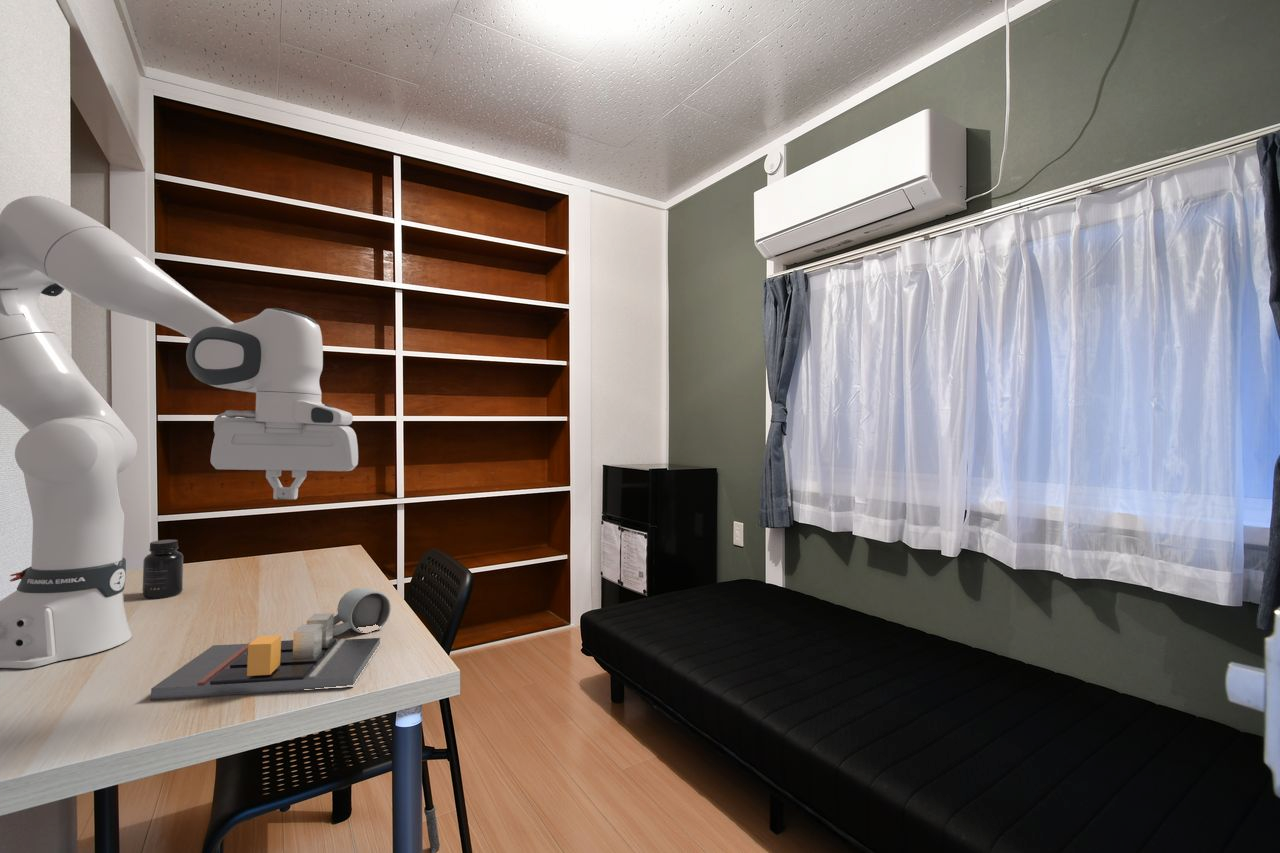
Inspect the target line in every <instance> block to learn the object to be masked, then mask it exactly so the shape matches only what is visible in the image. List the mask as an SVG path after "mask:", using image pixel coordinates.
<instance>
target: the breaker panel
mask: <svg viewBox="0 0 1280 853" xmlns="http://www.w3.org/2000/svg"><path fill="white" fill-rule="evenodd" d="M334 616H335V615H334V612H330V613H329V612H328V613H326V612H325V613H314V614H312V615H311V617H309V618H308V619H307V620H306V624H301V625H300V626H299V627H298V628H297V629H296V630H295V631H294V632H293V637H292V638H293V639H292V640H291V639H290V640H281V655H280V665H279V666H278V667H277V668H276V669H275V670H274V671H273V672H272V673H271V674H270V675H256V676H247V661H248V645H249V644H250V643H251V642H248V643H239V644H238V643H235V644H215V645H214V644H213V645H211V646H210V647H209V648H207V649H206V650H204V651H203V652H201V653H200V654H199V655H197V656H196V657H194V658H193V659H191V660H190V661H189V662H187V663H186V664H184V665H182V666H181V667H180V668H179V669H177V670H176V671H174V672H173V673H171V674H170V675H169V676H167V677H165V678H164V679H162V680H161V681H160V682H159V683H157V684H155V685H154V686H153V687H151V689H150V700H151V701H154V700H155V701H157V700H170V699H171V700H174V699H176V700H177V699H188V698H189V699H191V698H207V697H220V696H221V697H223V696H239V695H255V694H272V692H274V693H281V692H280V691H290V692H295V691H294V690H304V689H315V688H324V687H336V686H347V685H353V684H354V683H355V681H356V679H357V678H358V676H359V675H360V673H361V672H362V670H363V669H364V667H365V666H366V664H367V663H368V661H369V659H370V658H371V656H372V655H373V653H374V652H375V650H376V649H377V647H378V646H379V644H380V645H381V637H372V638H371V637H370V638H352V639H351V638H349V639H348V638H340V639H337V638H336V637H335V638H334V636H333V628H334V626H333V617H334Z"/></svg>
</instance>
